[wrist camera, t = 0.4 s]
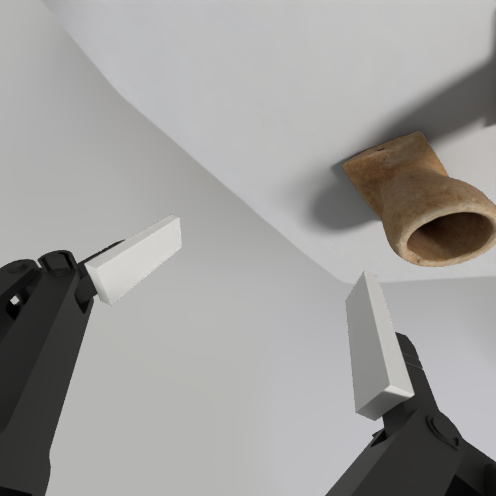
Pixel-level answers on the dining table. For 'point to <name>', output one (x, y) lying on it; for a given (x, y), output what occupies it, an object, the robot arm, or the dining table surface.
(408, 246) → the brown chunky piece
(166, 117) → the dining table surface
